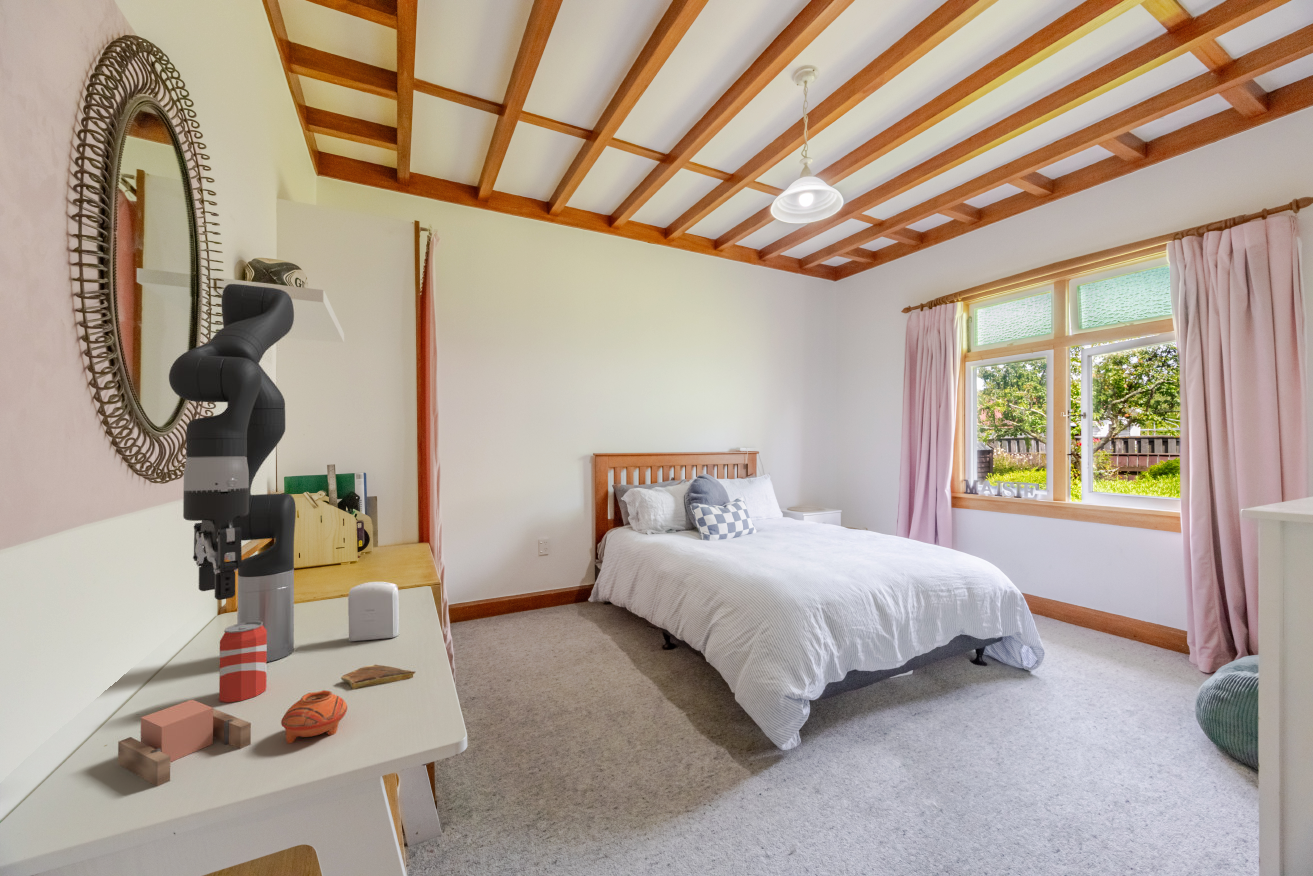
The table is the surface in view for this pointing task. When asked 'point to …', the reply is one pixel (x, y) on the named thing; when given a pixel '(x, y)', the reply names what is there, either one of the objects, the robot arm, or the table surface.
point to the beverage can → (243, 662)
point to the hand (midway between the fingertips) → (216, 594)
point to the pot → (314, 715)
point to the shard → (375, 675)
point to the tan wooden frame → (157, 764)
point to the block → (179, 729)
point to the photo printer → (373, 611)
